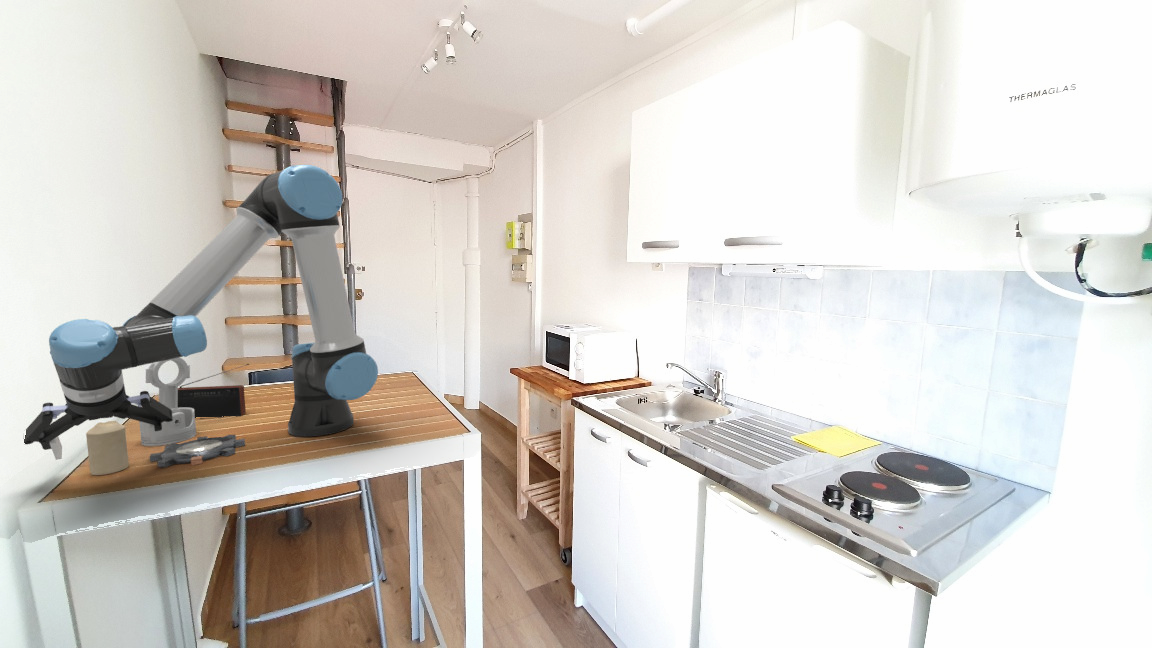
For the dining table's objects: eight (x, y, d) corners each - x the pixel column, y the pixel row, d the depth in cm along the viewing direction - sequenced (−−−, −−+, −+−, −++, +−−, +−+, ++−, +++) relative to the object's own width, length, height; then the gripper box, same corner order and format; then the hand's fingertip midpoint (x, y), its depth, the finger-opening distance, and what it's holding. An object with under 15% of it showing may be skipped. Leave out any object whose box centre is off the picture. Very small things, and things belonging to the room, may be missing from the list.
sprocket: (262, 441, 108) (261, 436, 108) (195, 470, 92) (194, 463, 92) (203, 437, 110) (203, 432, 110) (128, 464, 94) (128, 458, 94)
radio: (172, 420, 123) (167, 367, 122) (179, 417, 126) (174, 365, 125) (248, 416, 128) (245, 365, 126) (253, 413, 131) (250, 363, 129)
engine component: (129, 444, 106) (163, 447, 104) (121, 359, 104) (155, 361, 102) (178, 429, 116) (210, 432, 114) (172, 352, 114) (204, 353, 112)
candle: (104, 476, 89) (99, 428, 88) (82, 474, 89) (77, 426, 88) (136, 465, 94) (131, 419, 93) (115, 463, 95) (110, 417, 94)
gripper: (-21, 419, 70) (12, 479, 83) (187, 392, 87) (189, 445, 100) (-16, 380, 74) (15, 443, 86) (184, 362, 91) (185, 417, 103)
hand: (108, 444), depth 93 cm, fingers open, 13 cm apart
